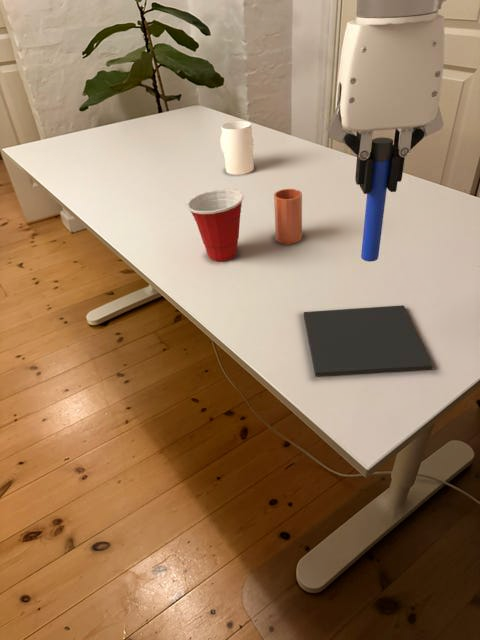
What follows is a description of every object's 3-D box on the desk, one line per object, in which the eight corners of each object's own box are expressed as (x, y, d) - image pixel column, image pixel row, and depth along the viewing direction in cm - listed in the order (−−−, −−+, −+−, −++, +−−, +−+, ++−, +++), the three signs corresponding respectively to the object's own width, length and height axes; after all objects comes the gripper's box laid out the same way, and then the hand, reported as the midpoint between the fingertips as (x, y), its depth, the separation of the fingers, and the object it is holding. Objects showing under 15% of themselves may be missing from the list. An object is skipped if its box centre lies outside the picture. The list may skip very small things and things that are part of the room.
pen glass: (300, 230, 98) (300, 187, 93) (303, 242, 94) (303, 198, 88) (274, 232, 99) (273, 189, 93) (276, 244, 94) (275, 200, 89)
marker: (376, 252, 62) (390, 136, 52) (380, 261, 60) (395, 142, 51) (358, 253, 62) (369, 138, 53) (362, 262, 60) (374, 144, 51)
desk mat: (403, 309, 74) (403, 305, 74) (432, 369, 63) (433, 365, 63) (303, 315, 75) (303, 311, 75) (315, 376, 64) (315, 372, 64)
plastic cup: (208, 238, 99) (201, 184, 92) (256, 244, 95) (252, 188, 88) (185, 264, 91) (175, 207, 84) (235, 272, 87) (229, 213, 80)
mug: (235, 159, 137) (232, 116, 130) (260, 168, 129) (258, 124, 122) (212, 166, 134) (207, 123, 127) (236, 177, 126) (232, 131, 119)
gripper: (468, -8, 46) (434, 172, 58) (308, 6, 47) (305, 182, 58) (502, -4, 40) (457, 196, 52) (318, 12, 41) (313, 206, 52)
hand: (377, 187), depth 55 cm, fingers closed on marker, 2 cm apart
